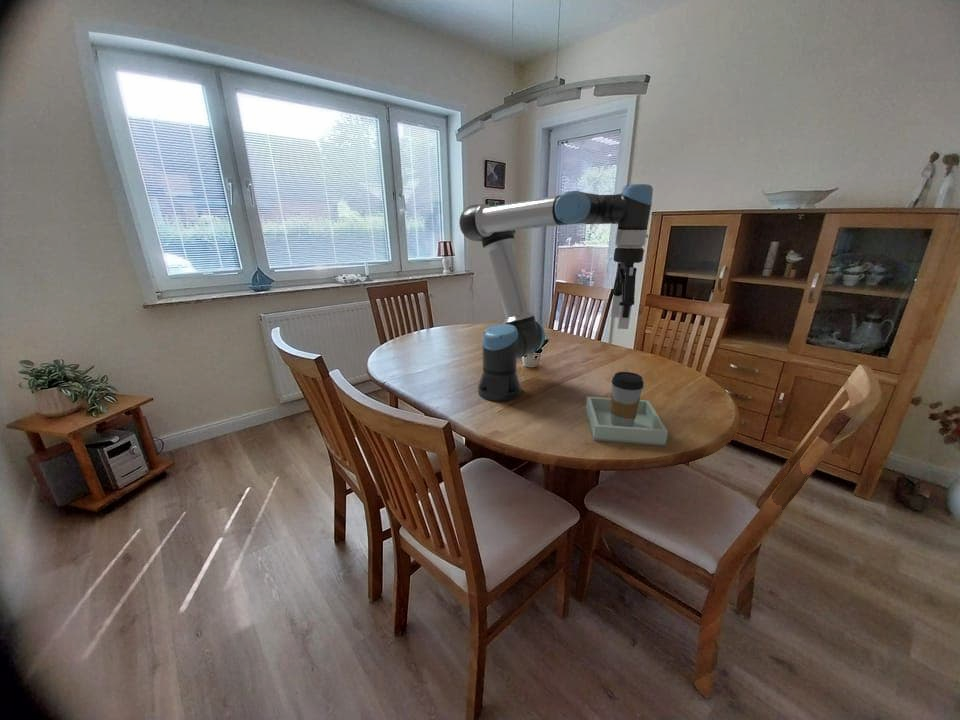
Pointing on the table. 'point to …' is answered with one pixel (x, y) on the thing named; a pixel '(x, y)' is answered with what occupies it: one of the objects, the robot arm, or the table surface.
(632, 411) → the coffee cup
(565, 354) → the table surface
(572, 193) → the robot arm
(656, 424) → the tray
